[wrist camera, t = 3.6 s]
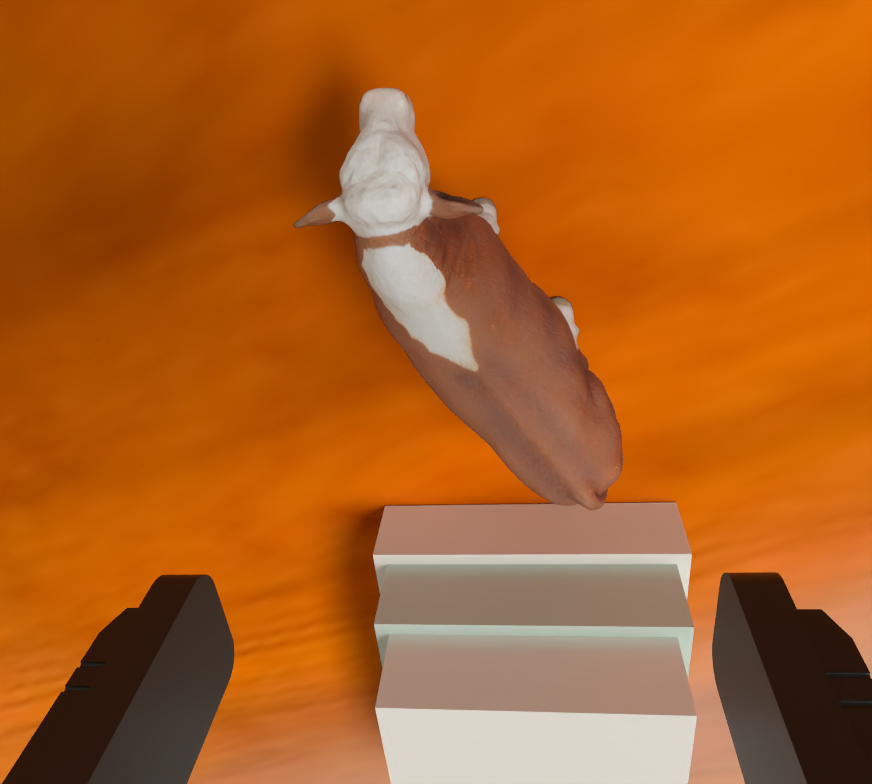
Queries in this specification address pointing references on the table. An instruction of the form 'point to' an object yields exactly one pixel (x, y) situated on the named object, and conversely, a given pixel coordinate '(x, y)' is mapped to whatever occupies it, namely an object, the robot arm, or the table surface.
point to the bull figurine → (473, 313)
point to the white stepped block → (534, 644)
